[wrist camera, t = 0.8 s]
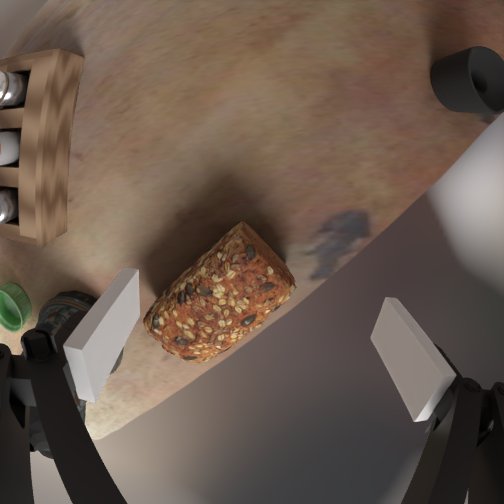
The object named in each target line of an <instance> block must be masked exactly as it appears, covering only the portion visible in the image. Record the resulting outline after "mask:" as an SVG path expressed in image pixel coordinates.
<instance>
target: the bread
mask: <svg viewBox="0 0 504 504" xmlns="http://www.w3.org/2000/svg"><path fill="white" fill-rule="evenodd" d="M295 288H297V287H296V286H295V280H294V277H293V275H292V274H291V273H290V271H289V269H288V268H287V266H286V265H285V263H284V262H283V261H282V260H281V259H280V258H279V257H278V255H277V254H276V253H275V252H273V250H272V249H271V248H270V247H269V246H268V245H267V244H266V243H265V242H264V241H263V239H262V237H260V236H259V235H258V234H257V233H256V232H255V231H254V230H253V229H252V228H251V227H250V226H249V225H248V224H246V223H245V222H242V221H241V222H240V223H238V224H237V225H236V226H235V227H233V228H232V229H231V230H230V231H229V232H228V233H226V234H225V235H224V236H223V237H222V238H221V239H220V240H219V241H218V242H217V243H216V244H214V245H213V246H212V247H211V248H210V249H208V251H207V252H206V253H204V254H203V255H202V256H201V257H200V258H199V259H198V260H197V261H196V262H194V263H193V264H192V265H191V266H190V267H189V268H188V269H187V270H186V271H185V272H184V273H183V274H182V275H181V276H180V277H179V278H178V279H177V280H175V281H174V282H173V283H172V284H171V285H170V286H169V288H168V289H166V290H165V291H164V292H163V294H162V295H160V296H159V298H158V299H156V301H155V302H154V304H153V305H152V306H151V307H150V309H149V311H148V312H147V314H146V316H145V318H144V320H143V323H144V326H145V329H146V331H147V332H148V334H149V335H150V336H152V337H153V338H155V339H156V340H157V341H159V342H160V343H161V344H162V348H163V349H164V350H166V351H167V352H170V353H171V354H174V355H176V356H178V357H180V358H181V360H184V361H186V362H191V363H202V362H206V361H209V359H212V358H214V357H216V356H217V355H218V354H220V353H222V352H224V351H226V350H228V349H229V348H230V347H231V346H233V345H234V344H236V343H238V341H239V340H241V339H242V338H243V337H245V336H246V335H247V333H249V332H251V331H252V330H253V328H258V327H260V326H261V325H262V324H263V322H264V320H265V319H266V318H267V317H268V316H269V315H270V314H271V313H272V312H274V311H275V310H277V309H278V308H279V307H280V306H281V305H283V304H284V303H285V302H286V301H287V300H288V299H289V298H290V294H291V293H292V292H293V291H294V290H295Z"/></svg>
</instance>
